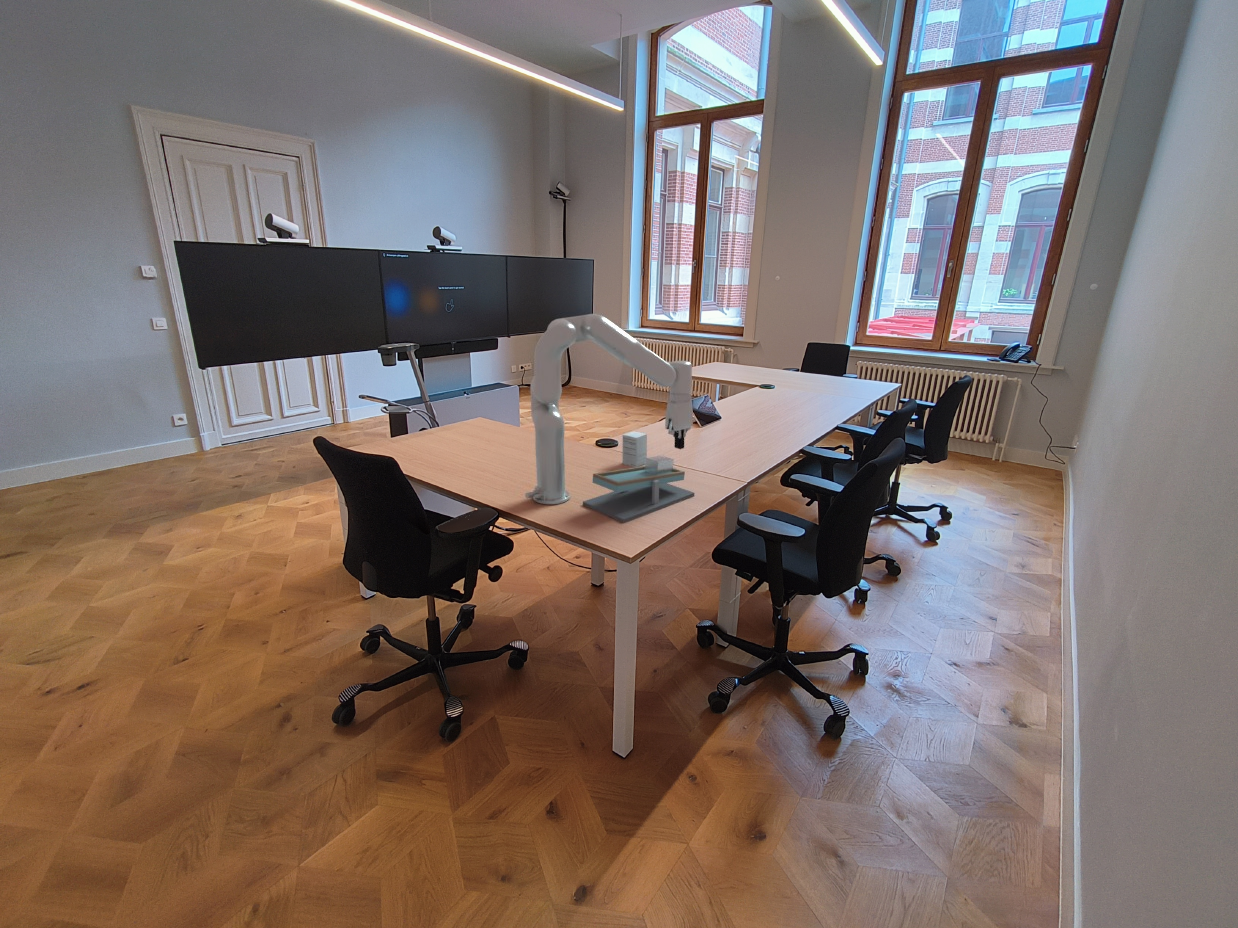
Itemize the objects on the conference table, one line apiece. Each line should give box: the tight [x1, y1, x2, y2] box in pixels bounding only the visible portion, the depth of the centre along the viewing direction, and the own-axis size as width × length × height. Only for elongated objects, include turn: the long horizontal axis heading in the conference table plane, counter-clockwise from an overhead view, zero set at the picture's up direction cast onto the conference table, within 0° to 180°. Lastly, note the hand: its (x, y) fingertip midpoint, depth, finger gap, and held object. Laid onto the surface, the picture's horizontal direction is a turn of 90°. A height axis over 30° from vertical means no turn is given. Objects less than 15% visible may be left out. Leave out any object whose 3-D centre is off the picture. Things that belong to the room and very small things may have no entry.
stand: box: [582, 480, 695, 524], centre depth 190 cm, size 34×20×9 cm, turn 133°
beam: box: [592, 465, 686, 492], centre depth 189 cm, size 32×12×3 cm, turn 133°
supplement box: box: [622, 431, 648, 468], centre depth 228 cm, size 7×7×13 cm
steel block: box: [644, 455, 675, 476], centre depth 194 cm, size 8×6×5 cm
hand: (679, 447), depth 200 cm, fingers closed
